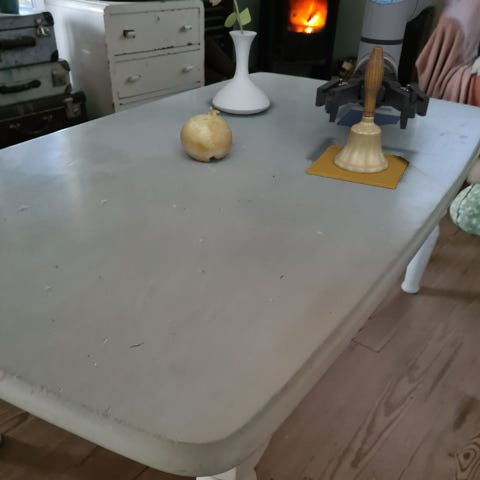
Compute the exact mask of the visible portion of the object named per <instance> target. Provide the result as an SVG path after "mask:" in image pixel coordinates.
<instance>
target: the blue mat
mask: <svg viewBox="0 0 480 480" xmlns="http://www.w3.org/2000/svg"><path fill="white" fill-rule="evenodd" d="M362 113H363V110H358V109H352V108H350V109H349V110H348V111H347V112H346V113H345V114H344V115H343V116H342V117H341V118H340V119H339V120H337V122H336V125H338V126H345V127H350V128H351V127H352V126H353V125H355V124H358V123H359V122H361V120H362V116H363V115H362ZM398 122H400V115H395V114H387V113H381V112H374V124H376V125H377V126H390V125H397V124H398Z"/></svg>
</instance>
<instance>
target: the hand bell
mask: <svg viewBox="0 0 480 480" xmlns="http://www.w3.org/2000/svg"><path fill="white" fill-rule="evenodd" d="M384 68H385V64H384V56H383V47H379V46H375V47H373V50H372V53H371V55H370V57H369V60H368V62H367V65H366V69H365V76H364V86H365V102H364V107H362V111H363V113H362V115H363V116H362V120H361V122H359V123H358V124H355V125H353V126H352V127H351V126H350V131H349V134H348V137H347V139H346V140H347V141H346V143H345V145H344V146H343V147H344V148H343V150H342V151H341V152H340V153H338V154H337V155H336V156H335V158H334V160H333V162H334V164H335V165H336V166H337V167H339V168H341V169H344V170H347V171H351V172H356V173H377V172H381V171H384V170H386V169H387V168H388V166H389V165H388V161H387V159H386V158H385V157H384V155H383V154H384V152H383V149H382V128H381V126H380V125H376V124H374V113H375V111H376V108H375V103H376V97H377V94H378V91H379V89H380V87H381V84H382V80H383V76H384Z"/></svg>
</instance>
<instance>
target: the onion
mask: <svg viewBox="0 0 480 480" xmlns="http://www.w3.org/2000/svg"><path fill="white" fill-rule="evenodd" d="M209 110H210V111H208V112H207V113H198V114H195V115H194V116H192V117H190V118H189V119H187V120H186V121H185V123H184V124H183V126H182V128H181V130H180V135H179V136H180V137H179V138H180V143H181V146H182V148H183V150H184V152H185V153H186V154H187V156H189V157H190V158H192V159H193V160H196V161H200V162H206V163H209V162H211V161H212V160H211V158H215V159H216V160H220V159H222V158H224V157H225V156H226V155H227V154H228V153H229V151H230V150H231V148H232V145H233V133H232V129H231V127H230V125H229V124H228V122H227V120H225V119H224V118H223V117H222V116H220V113H221V112H220V110H219V109H213V107H212V106H211V105H210V107H209Z"/></svg>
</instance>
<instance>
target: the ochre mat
mask: <svg viewBox="0 0 480 480" xmlns="http://www.w3.org/2000/svg"><path fill="white" fill-rule="evenodd" d="M344 147H345V146H339V145H332V144H331V145H330V146H329V147H328V148H327V149H326V150H325V151H323V153H322V154H321V155H320V156H319V157H318V158H317V159H316V160H315V161H314V162H313V163H312V164H311V165H310V166H309V167H308V168H307V169H306V174H307V175H313V176H319V177H323V178H324V177H325V178H330V179H335V180H340V181H346V182H352V183H357V184H363V185H368V186H373V187H379V188H385V189H391V190H396V188H397V186H398V184H399V182H400V181H401V178H402V176H403V175H404V173H405V171H406V169H407V167H408V166H409V163H410V161H409V160H407V159H406V158H404V157H402V156H401V155H395V154H389V153H383V155H384V157H385V158H386V159H387V161H388V165H389V166H388V168H387V169H386V170H384V171H381V172H377V173H356V172H351V171H347V170H344V169H341V168H339V167H337V166H336V165H335V164H334V162H333V160H334V158H335V156H336V155H337V154H338V153H340V152H341V151H342V150H343V148H344Z"/></svg>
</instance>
